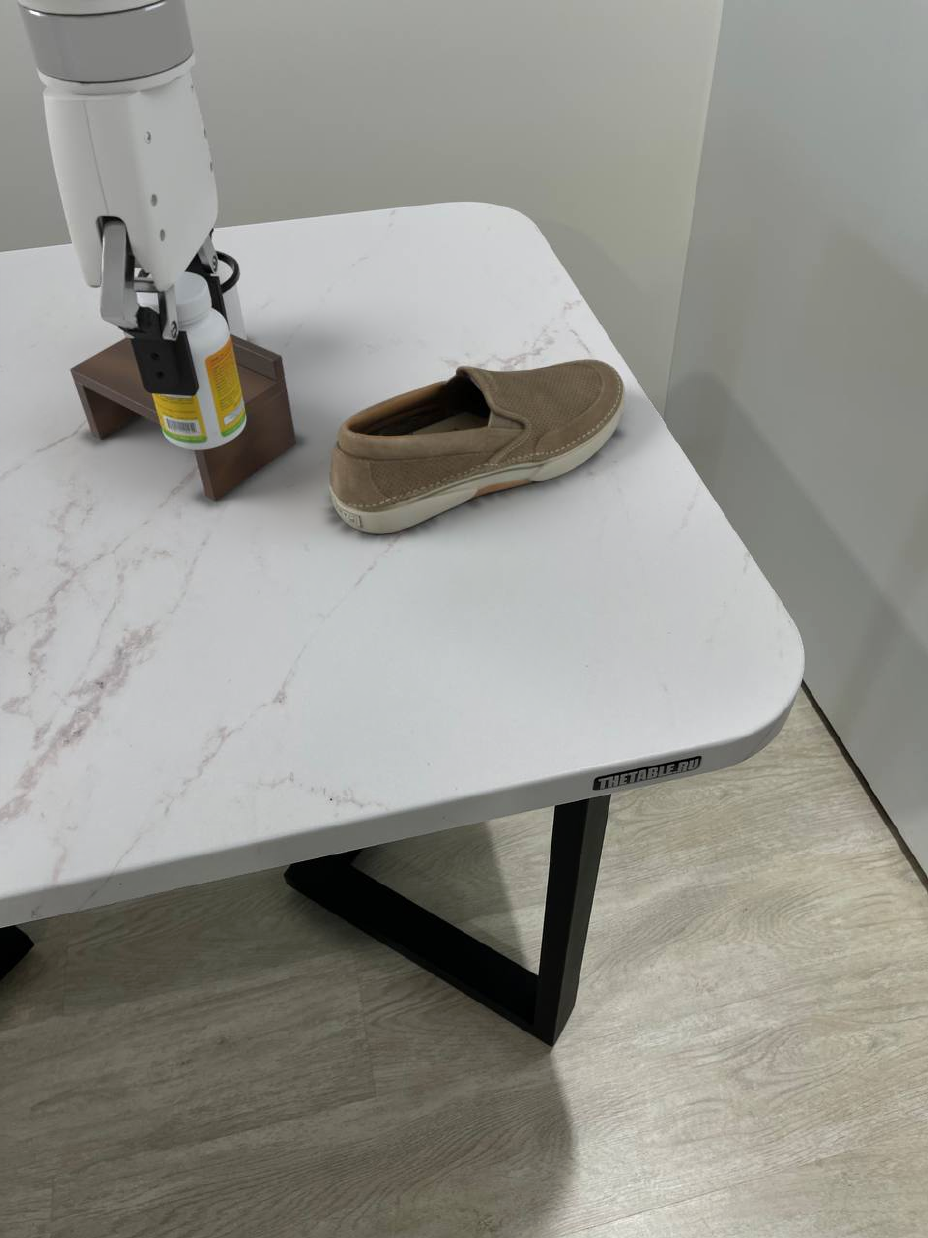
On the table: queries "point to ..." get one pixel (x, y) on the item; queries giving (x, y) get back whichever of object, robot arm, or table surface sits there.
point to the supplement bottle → (202, 373)
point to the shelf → (121, 397)
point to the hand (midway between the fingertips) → (188, 360)
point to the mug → (226, 292)
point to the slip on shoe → (470, 440)
